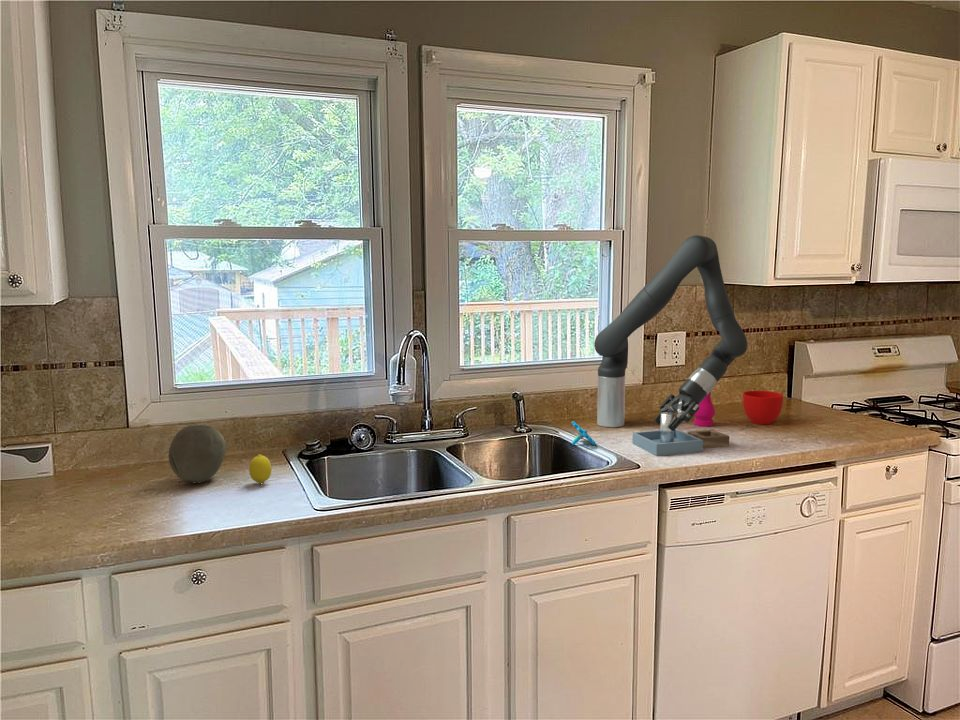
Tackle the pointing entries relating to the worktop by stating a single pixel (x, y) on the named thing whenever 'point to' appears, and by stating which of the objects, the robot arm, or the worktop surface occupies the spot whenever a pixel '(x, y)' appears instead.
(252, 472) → the lemon
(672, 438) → the pin
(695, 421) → the pepper mill
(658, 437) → the parts tray
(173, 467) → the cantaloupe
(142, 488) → the worktop surface
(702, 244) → the robot arm
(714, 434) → the socket block
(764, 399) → the ceramic cup
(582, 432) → the blue branched flat part
